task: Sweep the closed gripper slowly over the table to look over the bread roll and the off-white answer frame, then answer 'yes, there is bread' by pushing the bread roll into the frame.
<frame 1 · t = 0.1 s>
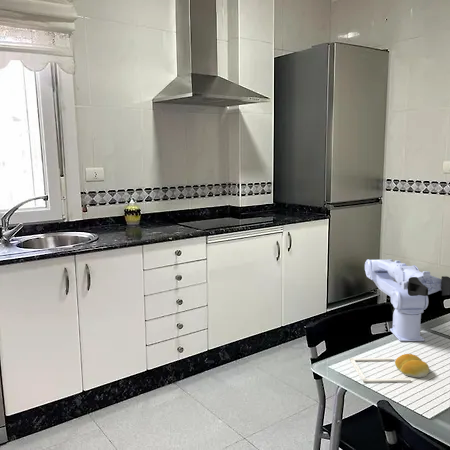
hand: (440, 291, 126), 22 cm above the table, tool horizontal, fingers open, 7 cm apart
bread roll: (411, 371, 127), on the table
answer frame: (378, 370, 126), on the table
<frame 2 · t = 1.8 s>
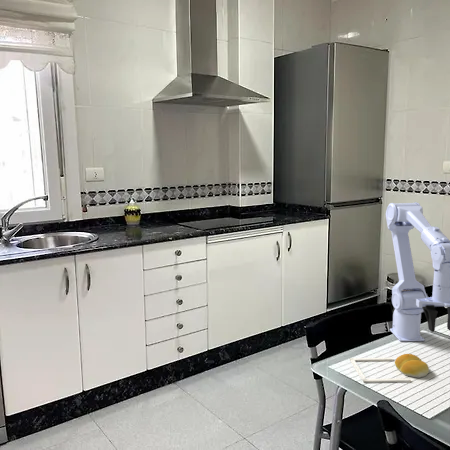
hand: (440, 330, 130), 9 cm above the table, tool pointing down, fingers open, 5 cm apart
nothing on the table moved.
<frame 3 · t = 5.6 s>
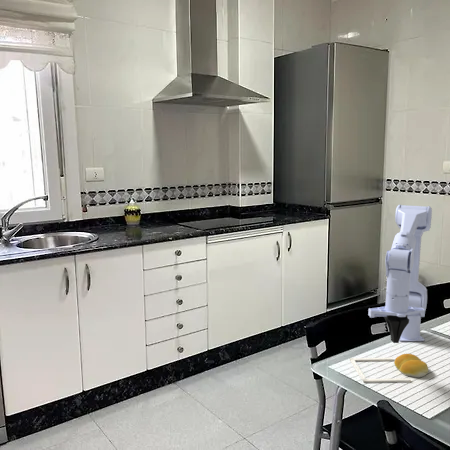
hand: (394, 341, 123), 9 cm above the table, tool pointing down, fingers closed
nothing on the table moved.
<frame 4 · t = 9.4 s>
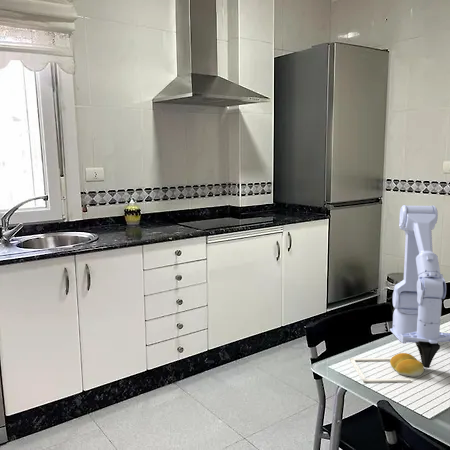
hand: (425, 366, 126), 1 cm above the table, tool pointing down, fingers closed
bread roll: (406, 370, 127), on the table, touching gripper
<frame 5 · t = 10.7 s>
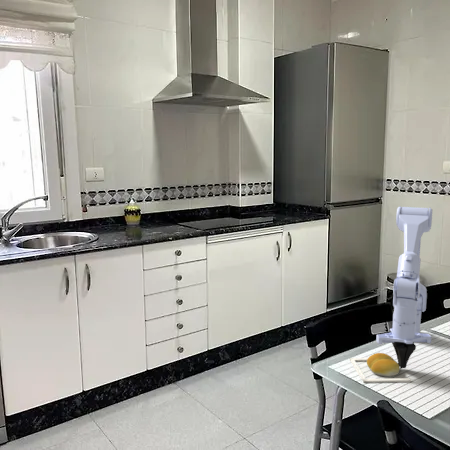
hand: (401, 366, 126), 1 cm above the table, tool pointing down, fingers closed
bread roll: (382, 370, 127), on the table, touching gripper
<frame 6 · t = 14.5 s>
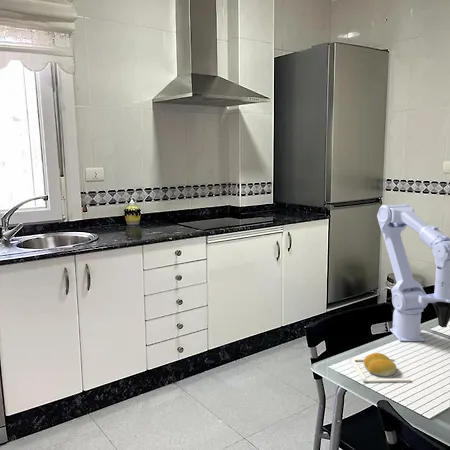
hand: (442, 326, 133), 9 cm above the table, tool pointing down, fingers closed
bread roll: (379, 370, 127), on the table
at the end: bread roll 1.1 cm from the target spot, on the table; bread roll moved 8.8 cm from its start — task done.
